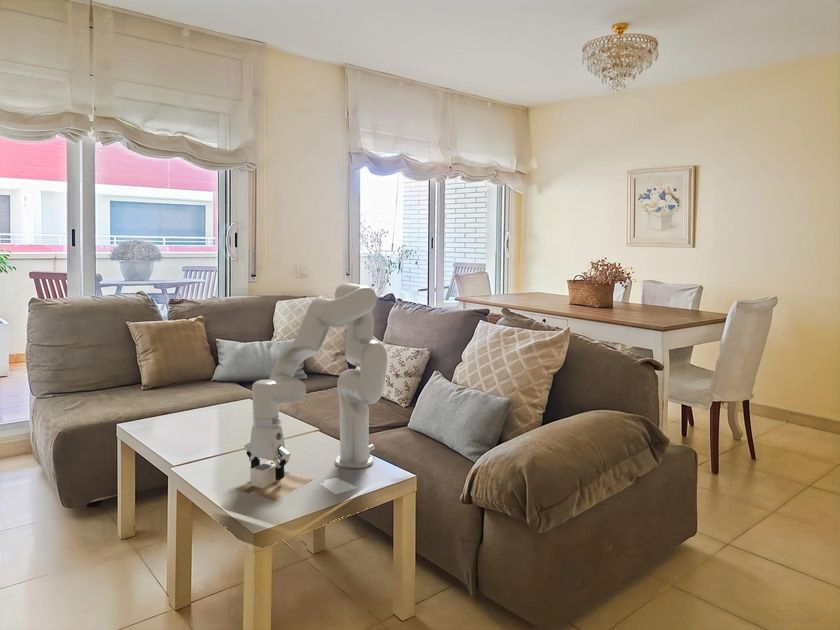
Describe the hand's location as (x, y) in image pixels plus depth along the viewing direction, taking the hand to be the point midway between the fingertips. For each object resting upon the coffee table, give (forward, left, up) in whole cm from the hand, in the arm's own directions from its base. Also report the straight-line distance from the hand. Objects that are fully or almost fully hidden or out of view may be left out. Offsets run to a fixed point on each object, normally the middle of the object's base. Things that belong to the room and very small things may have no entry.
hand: (267, 475), depth 187 cm
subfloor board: (0, +3, -3) cm, 4 cm away
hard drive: (-9, +19, -4) cm, 21 cm away
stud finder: (0, 0, -2) cm, 2 cm away
